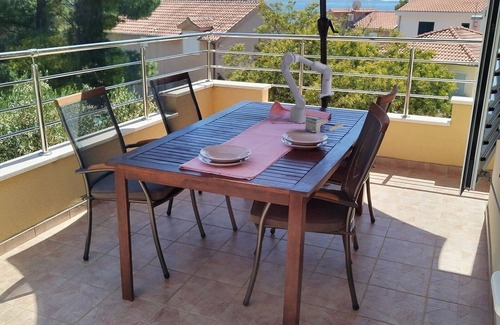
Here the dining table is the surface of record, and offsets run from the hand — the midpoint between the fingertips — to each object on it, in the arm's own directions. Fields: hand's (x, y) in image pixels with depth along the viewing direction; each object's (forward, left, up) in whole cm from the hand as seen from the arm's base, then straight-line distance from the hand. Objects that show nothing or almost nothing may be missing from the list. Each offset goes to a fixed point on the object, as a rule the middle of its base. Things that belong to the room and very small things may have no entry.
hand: (325, 107), depth 309 cm
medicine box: (+8, -22, -10) cm, 25 cm away
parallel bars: (+8, -7, -9) cm, 14 cm away
